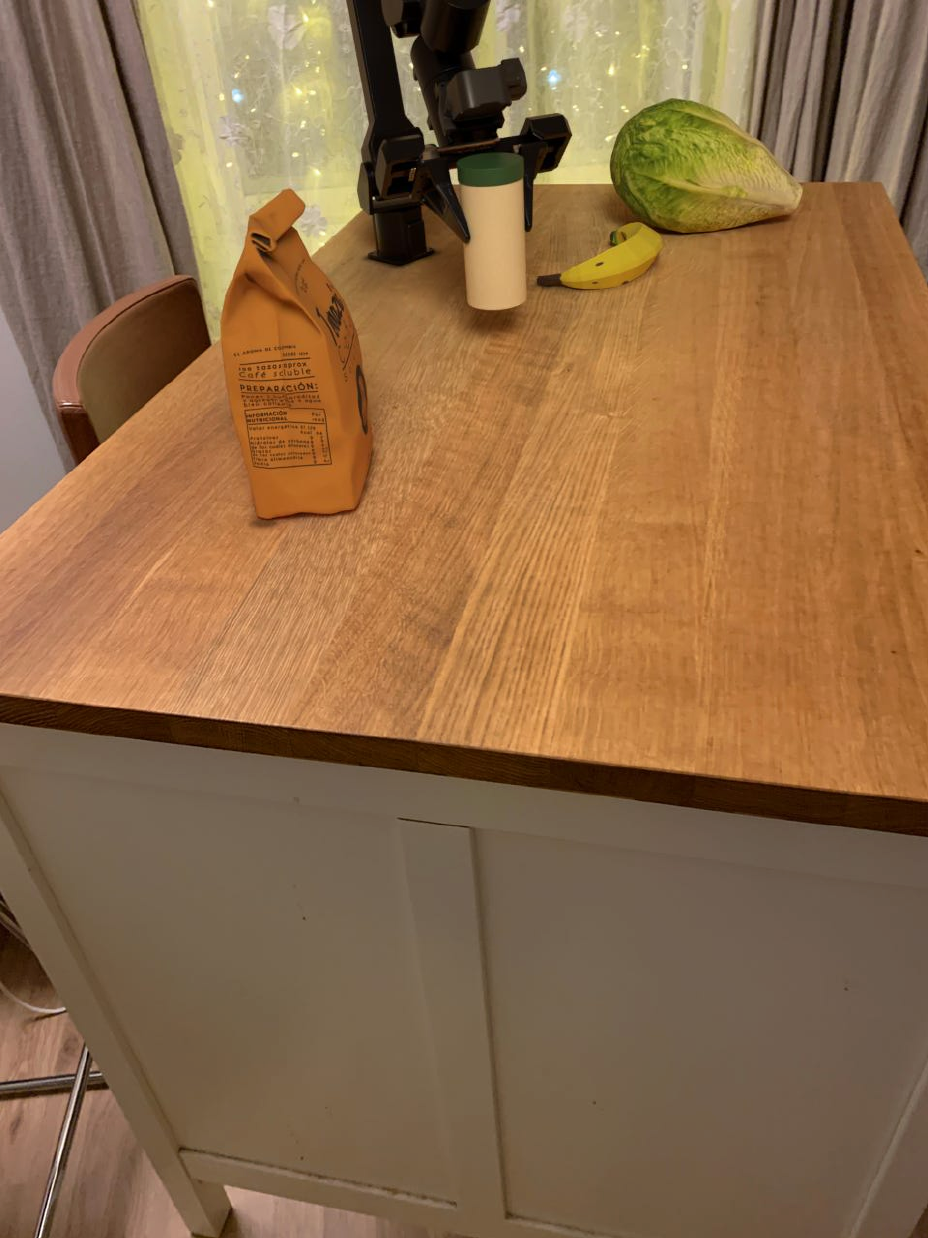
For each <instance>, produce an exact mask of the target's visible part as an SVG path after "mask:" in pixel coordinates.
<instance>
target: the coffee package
mask: <svg viewBox="0 0 928 1238" xmlns="http://www.w3.org/2000/svg"><path fill="white" fill-rule="evenodd" d="M305 210H306V203H305V202H304V200H303V199H302V198H301V197H300V196H299V195H298V194H297V192H295V191H294V190H293V189H292V188H285V189H282V190H281V191H280V193H278V194H277V195H276V196H275V197H274V198H272V199H271V200H269V201H268V202H267V203H265V204H264V205H263V206H262V207H260V209H258V210H257V211H256V212H254V213H252V214H249V216H248V220H247V231H246V234H245V239H244V245H243V249H242V252H241V254H240V257H239V258H238V259H239V260H238V262H237V263H236V266H235V270H234V272H233V275H232V279H231V280H230V284H229V285H228V288H227V290H226V292H225V296H224V301H223V305H222V311H221V317H220V321H219V322H220V324H219V325H220V340H221V341H220V342H221V352H222V361H223V369H224V377H225V381H226V382H225V383H226V389H227V394H228V400H229V407H230V413H231V418H232V421H233V424H234V425H233V426H234V428H235V431H236V434H237V438H238V441H239V445H240V451H241V454H242V458H243V462H244V465H245V469H246V471H247V474H248V475H247V476H248V480H249V483H250V488H251V494H252V497H253V503H254V509H255V514H256V516H257V517H259V518H261V519H265V520H271V519H274V518H280V517H286V516H290V515H295V514H299V513H310V514H321V515H332V514H336V513H339V512H343V511H350V510H354V509H356V508H357V506H358V504H359V502H360V500H361V497H362V494H363V490H364V487H365V483H366V480H367V475H368V472H369V468H370V462H371V456H372V452H373V445H374V434H373V430H372V425H371V421H370V420H371V419H370V412H369V411H370V410H369V399H368V388H367V387H368V386H367V382H366V381H367V380H366V377H365V373H364V371H365V370H364V365H363V356H362V351H361V350H362V349H361V345H360V340H359V334H358V331H357V328H356V327H355V323H354V321H353V318H352V315H351V313H350V310H349V307H348V305H347V304H346V301H345V299H344V297H343V296H342V295H341V293H340V292H339V291H338V289H337V288H336V286H335V284H334V283H333V282H332V281H331V280H330V279H329V277H328V276H327V275H326V273H325V272H324V271H323V270H322V269H321V268H320V267H319V265H317V264H316V263H315V261H313V259H312V258H311V256H310V254H309V251H308V249H307V247H306V245H305V243H304V241H303V239H302V238H301V235H300V234H299V232H298V230H297V228H295V227H293V225H295V223H296V222H297V220H299V219H300V218H301V217H302V216H303V214H304V212H305Z"/></svg>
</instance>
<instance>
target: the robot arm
mask: <svg viewBox="0 0 928 1238" xmlns="http://www.w3.org/2000/svg"><path fill="white" fill-rule="evenodd" d="M345 1H346V8H347V13H348V14H347V15H348V19H349V23H350V30H351V33H352V34H351V35H352V40H353V44H354V46H353V47H354V50H355V56H356V61H357V67H358V72H359V77H360V84H361V89H362V94H363V95H362V96H363V99H364V106H365V111H366V115H367V122H368V126H367V129H366V132H365V136H364V139H363V142H362V144H361V147H360V156H361V162H360V164H359V170H358V171H359V172H358V178H357V186H356V193H357V198H358V203H359V204H358V205H359V208H360V209H362V210H363V211H364V212H365V213H366V214H367V215H368V216H372V225H373V233H374V240H375V241H374V243H375V250H372V251H370V252H368V253H367V257H368V258H369V259H373V260H376V261H380V262H384V263H388V264H392V265H396V266H402V265H405V264H408V263H410V262H413V261H415V260H418V259H421V258H425V257H427V256H429V255H432V254H434V253H435V251H436V249H435V248H434V247H431V246H427V235H426V228H425V227H426V226H425V220H424V219H423V218H424V217H423V210H422V209H423V207H422V206H425V207H427V209H429V210H430V211H431V212H432V213H433V214H434V215H436V216H437V217H438V218H439V219H440V220H441V221H442V222H443V223H444V224H445V225H446V226H447V227H448V228H449V229H450V230H451V231H452V232H453V233H454V234H455V235H456V236H457V237H458V238H459V239H460V241H461V242H462V243H463V242H464V243H465V244H467V243H469V241H470V238H471V237H470V233H469V229H468V225H467V221H466V219H465V216H464V213H463V211H462V208H461V203H460V199H459V198H458V195H457V193H456V191H455V188H454V185H453V183H452V178H451V173H450V170H451V171H452V170H457V162H458V161H459V160H460V159H462V158H465V157H468V156H472V155H477V154H484V153H513V154H517V155H520V156H522V157H523V159H524V177H523V193H524V225H525V233H530V232H531V231H532V228H533V220H534V219H533V218H534V217H533V216H534V215H533V214H534V213H533V212H534V183H535V180H536V179H537V176H538V174H544V173H549V172H552V171H554V170H555V169H557V168H558V167H559V165H560V163H561V161H562V159H563V156H564V154H565V152H566V149H567V147H568V146H569V144H570V142H571V140H572V139H571V138H572V137H573V132H572V129H571V127H570V124H569V120H568V119H567V117H566V116H565V115H563V114H561V113H559V112H553V113H547V114H541V115H534V116H527V117H525V119H524V121H523V124H522V127H521V129H520V132H519V134H516V135H510V136H505V137H499V134H498V130H500V129H503V127H504V126H505V121H506V118H505V116H504V112H503V111H504V110H505V109H506V108H509V107H512V105H513V102H515V101H520V100H521V99H522V98H523V97H524V96H525V95H526V94H527V92H528V81H527V76H526V71H525V69H524V66H523V65H522V64H523V63H522V61H521V60H520V57H518V56H517V57H512V58H505V59H502V60H500V63H499V64H497V65H493V66H486V67H480V68H479V67H478V68H477V67H476V63H475V61H474V58H473V54H472V52H471V51H473V50H474V49H475V48H476V47H478V46H479V45H480V41H481V39H482V35H483V31H484V28H485V25H486V21H487V17H488V13H489V9H490V6H491V2H492V0H345ZM392 34H393V35H394V36H395V38H396V39H407V38H414V40H413V42H412V44H411V47H410V51H409V56H410V61H411V64H412V78H413V81H415V82H418V85H419V89H420V92H421V95H422V98H423V102H424V104H425V108H426V111H427V119H426V125H427V127H428V130H429V131H433V133H434V137H435V139H436V143H437V144H435V143H425V137H424V133H423V131H422V129H421V128H420V127H419V126H415V125H414V124H413V122H412V121H411V120H410V118H408V116H407V115H406V110H405V104H404V98H403V92H402V87H401V82H400V74H399V70H398V64H397V63H398V62H397V60H396V58H397V57H396V52H395V46H394V42H393V35H392ZM415 37H416V38H415ZM437 145H438V146H437Z"/></svg>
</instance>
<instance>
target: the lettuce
mask: <svg viewBox="0 0 928 1238" xmlns="http://www.w3.org/2000/svg"><path fill="white" fill-rule="evenodd" d="M609 175H610V180H611V183H612V185H613V188H614V190H615V193H616V194H617V196H618V197H619V198H620V199H621V201H622V202H623V203H624V204H625V205H626V207H627V208H628V209H629V211H630V212H631V213H632V214H633V215H634V216H635V217H637V218H639V219H641V220H642V221H644V222H646V223H647V224H649V225H651V226H654V227H657V228H661V229H665V230H668V231H674V232H677V233H683V234H686V233H689V234H690V233H707V232H715V231H720V230H725V229H732V228H736V227H740V226H745V225H748V224H750V223H751V224H752V223H754V222H760V221H763V220H767V219H771V218H775V217H776V218H777V217H780V216H786V215H792V214H793V213H794V212H795V211H796V210H797V208H798V207H799V205H801V203H802V198H803V192H804V187H803V186H802V184H800V183H799V181H797V179H796V178H795V177H794V176H793V175H791V173H790V172H788V171H787V170H786V168H785V167H784V166H783V165H782V163H781V162H780V161H779V160H778V159H777V158H776V156H775V155H773V153H772V152H771V151H770V150H769V148H768V147H767V146H766V145H765V144H764V143H763V142H762V141H761V140H759V139H757V138H756V137H755V136H753V135H752V134H751V133H749V132H747V130H745V129H744V128H742V127H741V126H740V125H739V124H738V123H736V122H735V121H734V120H733V119H732V118H730V116H728V115H727V114H726V113H724V112H722V111H719V110H717V109H715V108H713V107H711V106H707V105H705V104H702V103H699V102H696V101H695V100H691V99H690V100H689V99H683V98H675V97H671V98H668V99H665V100H663V101H660V102H658V103H655V104H652V105H649V106H647V107H645V108H642V109H641V110H640V111H638V112H637V113H636V114H634V115H633V116H632V117H631V118H629V119H628V120H626V121H625V122H624V124H623V126H622V127H621V128H620V130H619V131H618V133H617V135H616V137H615V141H614V144H613V147H612V150H611V154H610V160H609Z"/></svg>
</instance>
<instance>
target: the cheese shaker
mask: <svg viewBox="0 0 928 1238" xmlns="http://www.w3.org/2000/svg"><path fill="white" fill-rule="evenodd" d="M456 174H457V182H458V187H459V203H460V206H461V208H462V211H463V213H464V216H465V219H466V221H467V225H468V229H469V233H470V237H471V238H470V241H469V243H467V244H465V243H464V242H463V241H462V244H463V245H462V246H463V260H464V261H463V262H464V272H465V273H464V274H465V288H466V289H465V290H466V302H467V304H468V305H469V306H470V307H471V308H475V309H478V310H484V311H501V310H508V309H512V308H515V307H518V306H520V305H523V304H524V303H525V302H526V301H527V298H528V295H527V294H528V293H527V291H528V290H527V263H526V261H527V260H526V232H525V225H524V193H523V177H524V159H523V157H522V156H520V155H517V154H513V153H484V154H477V155H472V156H468V157H465V158H462V159H460V160H459V161H458V162H457V169H456Z"/></svg>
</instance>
